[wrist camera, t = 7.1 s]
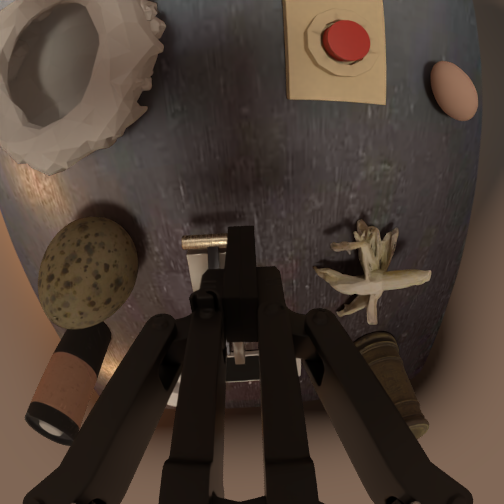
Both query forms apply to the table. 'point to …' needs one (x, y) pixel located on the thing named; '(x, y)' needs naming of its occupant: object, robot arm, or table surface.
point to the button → (346, 41)
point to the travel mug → (68, 383)
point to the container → (393, 377)
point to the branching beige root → (370, 271)
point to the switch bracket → (197, 269)
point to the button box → (324, 65)
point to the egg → (454, 91)
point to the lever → (208, 252)
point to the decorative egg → (87, 272)
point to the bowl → (73, 76)
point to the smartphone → (247, 367)
